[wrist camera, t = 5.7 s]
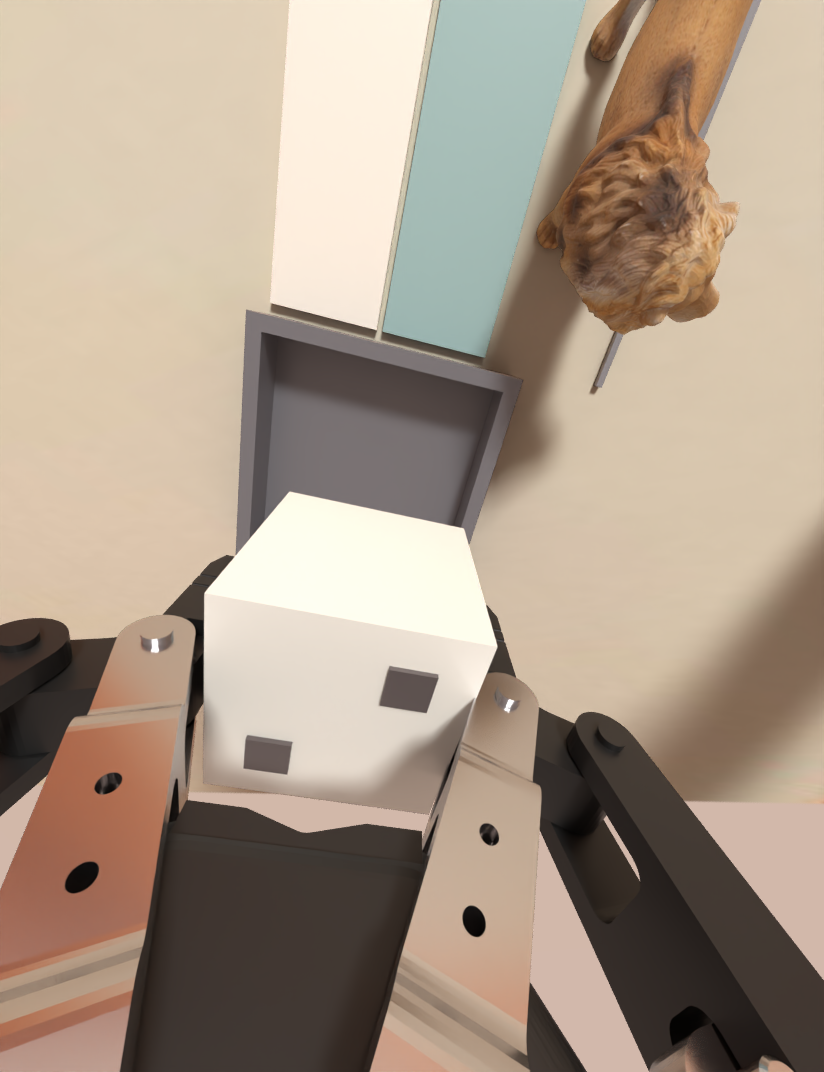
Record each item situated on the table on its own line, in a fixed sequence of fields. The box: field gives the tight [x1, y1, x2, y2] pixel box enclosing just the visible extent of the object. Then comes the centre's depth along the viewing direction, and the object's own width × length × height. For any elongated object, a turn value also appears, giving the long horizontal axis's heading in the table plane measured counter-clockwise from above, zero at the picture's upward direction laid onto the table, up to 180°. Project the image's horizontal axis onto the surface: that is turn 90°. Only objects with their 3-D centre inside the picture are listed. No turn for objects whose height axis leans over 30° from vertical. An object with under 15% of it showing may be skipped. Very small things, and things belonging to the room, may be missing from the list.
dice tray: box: [236, 310, 523, 555], centre depth 21 cm, size 12×12×3 cm
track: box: [270, 0, 761, 388], centre depth 17 cm, size 17×14×1 cm
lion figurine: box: [537, 0, 753, 335], centre depth 12 cm, size 15×5×9 cm, turn 174°
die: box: [203, 492, 497, 815], centre depth 10 cm, size 5×5×5 cm
